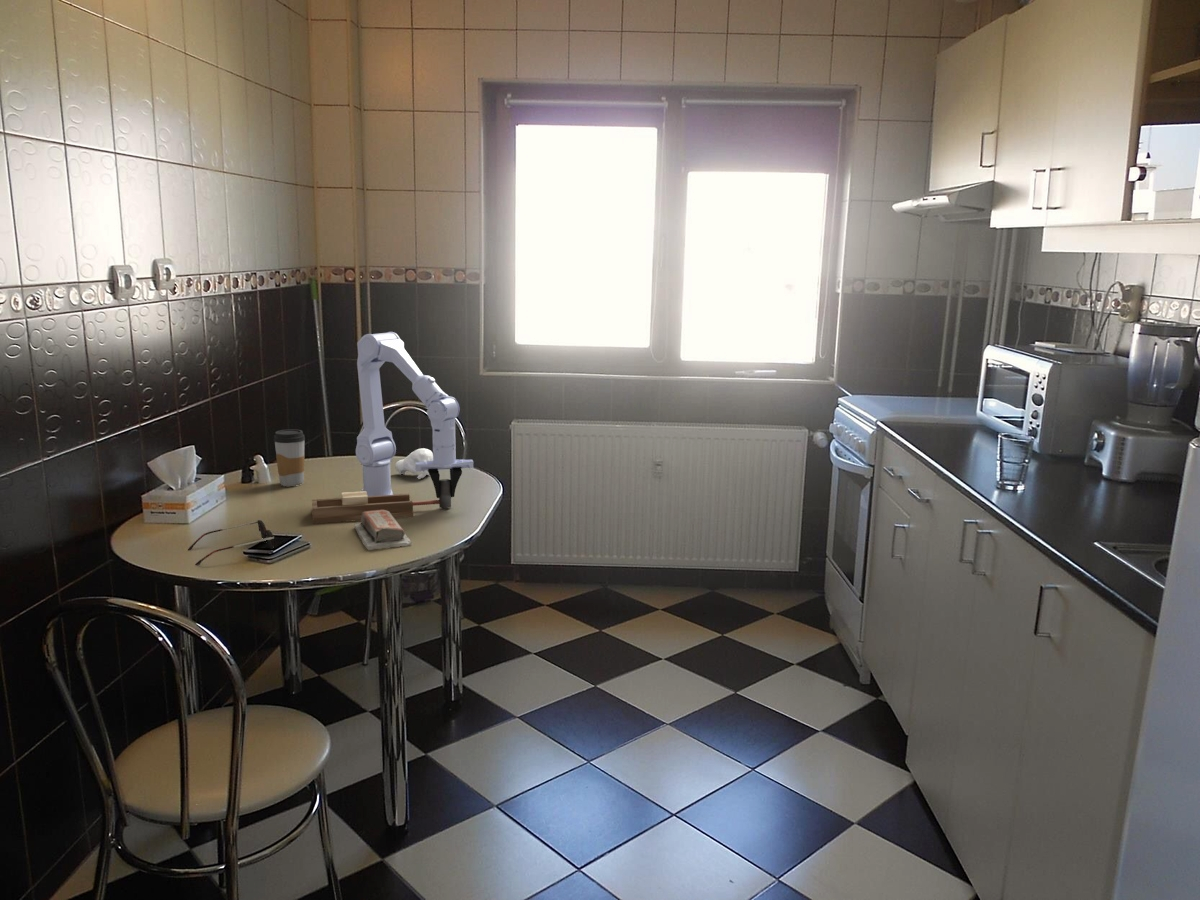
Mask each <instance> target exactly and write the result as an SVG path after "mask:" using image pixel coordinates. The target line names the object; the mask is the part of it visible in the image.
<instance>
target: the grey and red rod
mask: <svg viewBox="0 0 1200 900" xmlns="http://www.w3.org/2000/svg"><path fill="white" fill-rule="evenodd" d="M439 489H440V498H438V499H434V500H420V501H419V500H418V501H417V500H416V501H413V507H414V506H425V505H426V506H427V505H430V506H431V505H438V506H439V508H441V509H450V508H451V507H452V497H451V480H450V479H448V478H441V479H439ZM341 498H342V505H356V504H368V496H367V492H366V491H361V490H360V491H348V492H347V491H345V492H341Z"/></svg>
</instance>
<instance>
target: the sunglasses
mask: <svg viewBox="0 0 1200 900" xmlns="http://www.w3.org/2000/svg"><path fill="white" fill-rule="evenodd" d="M254 524H255V525H256V524H257V525H258V526H257V527H258V532H260V536H261V539H258V540H255V541H249V542H244V543H241V544H237V545H232V546H231V545H230V546H228V547H223V548H219V549H216V550H213V551H211V552H210V553H207V555H206V556H205V555H204V557H202V558H201V559H199V560H198V561H197V562H196V563H195V564H194V565H195V566H196V565H200V564H201V563H202V562H203V561H204V560H206V559H207V558H209V557H210V556H212V555H213V554H214V553H217V552H221V551H225V550H230V549H233V548H238V547H243V546H247V545H252V544H256V543H259V542H264V541H266V540H268V541H269V542H270V543H271V546H273V547H274V546H275V540H274V539H275V536H274V535H273V534H274V533H272V531H271V530H270V529H267V528H266V525H265V523H264V521H262V519H258V520H256V521H250V522H249V523H247V522H246V523H244V524H239V525H236V526H235V525H234V526H231V527H225V528H220V529H215V530H212V531H211V530H210V531H208V532H206V533H203V534H201V536H199V537H198V538H197V539H196V540H195V541H194V542H193V543H191V545H190V546H189V547H188V549H187V551H192V550H193V548H194V546H195V545H196V544H197V543H198V542H199V541H200V540H201V539H202V538H204V537H205V536H207V535H210V534H212V533H213V534H214V533H217V532H222V531H227V530H232V529H235V528H240V527H244V526H249V525H254ZM262 538H263V539H262Z"/></svg>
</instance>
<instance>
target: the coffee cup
mask: <svg viewBox="0 0 1200 900" xmlns="http://www.w3.org/2000/svg"><path fill="white" fill-rule="evenodd" d="M274 433H275V435H273V442H274V447H275V454H276V455H275V457H276V465H277V472H278V477H279V484H280V485H281V486H282V485H283V486H282V487H285V486H294V487H297V486H296V485H300V484H302V483H303V484H304V482H305V440H306V438H305V434H304V431H303V430H301V429H290V428H289V429H281V430H277V431H275V432H274ZM303 484H302V485H303ZM300 486H301V485H300Z"/></svg>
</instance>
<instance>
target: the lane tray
mask: <svg viewBox="0 0 1200 900" xmlns="http://www.w3.org/2000/svg"><path fill="white" fill-rule="evenodd" d="M410 498H411V497H410V493H399V494H398V493H397V494H393V495H380V496H368V504H356V505H342V497H335V498H333V497H332V498H322V499H318V498H317V499H311V508H312V524H313V523H316V524H327V523H328V522H330V523H341V521H343V522H354V521H361V518H362V512H365V511H374V510H386V511H389V512H390V513H391V514H392V516H393V517H394V519H399V518H411V517H412V518H413V517H414V506H413V502H414V501H413V500H410Z"/></svg>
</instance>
